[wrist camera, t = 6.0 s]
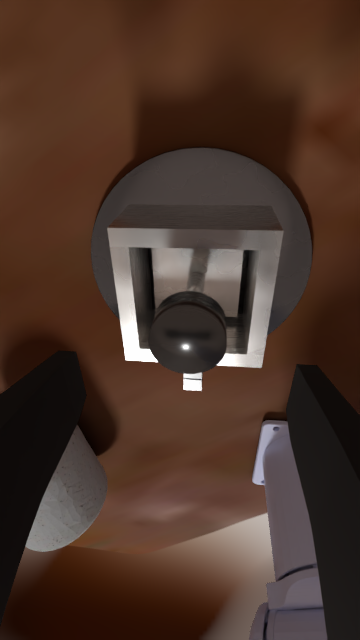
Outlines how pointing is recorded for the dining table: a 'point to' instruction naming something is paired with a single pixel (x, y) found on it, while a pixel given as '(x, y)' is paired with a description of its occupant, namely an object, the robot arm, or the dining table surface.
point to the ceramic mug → (69, 497)
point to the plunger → (193, 306)
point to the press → (203, 244)
